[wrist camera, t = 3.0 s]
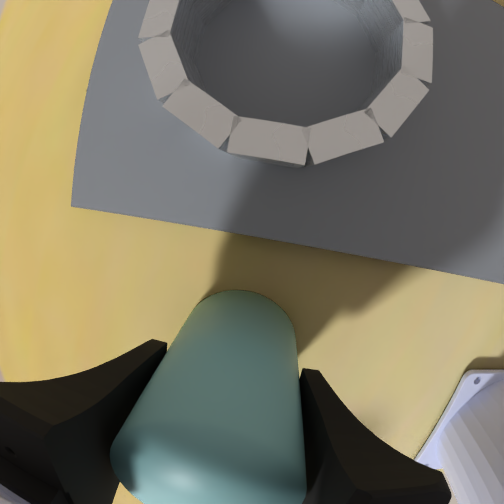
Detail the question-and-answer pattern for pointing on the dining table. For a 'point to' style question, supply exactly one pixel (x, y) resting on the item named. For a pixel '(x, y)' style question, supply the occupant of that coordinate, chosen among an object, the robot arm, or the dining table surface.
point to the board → (306, 114)
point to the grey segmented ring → (280, 134)
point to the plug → (219, 411)
